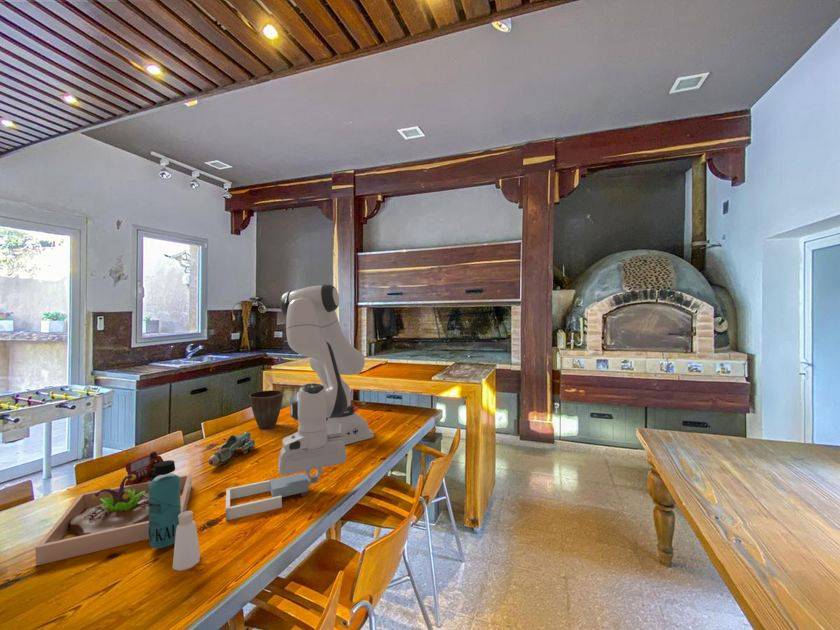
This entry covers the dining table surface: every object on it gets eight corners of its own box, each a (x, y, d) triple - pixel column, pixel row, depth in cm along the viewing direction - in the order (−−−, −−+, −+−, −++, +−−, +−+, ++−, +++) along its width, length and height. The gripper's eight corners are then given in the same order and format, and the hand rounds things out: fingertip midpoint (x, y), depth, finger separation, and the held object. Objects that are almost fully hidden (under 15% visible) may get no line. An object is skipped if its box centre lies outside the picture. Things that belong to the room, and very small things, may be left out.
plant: (181, 511, 104) (180, 471, 104) (92, 550, 87) (91, 503, 87) (147, 494, 114) (146, 457, 114) (61, 526, 97) (60, 483, 97)
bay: (276, 488, 116) (276, 478, 116) (281, 507, 105) (281, 496, 105) (226, 498, 110) (226, 488, 110) (225, 520, 98) (225, 509, 98)
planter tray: (191, 486, 118) (191, 474, 118) (181, 531, 94) (180, 515, 94) (80, 508, 106) (80, 494, 106) (35, 565, 81) (35, 547, 81)
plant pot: (276, 431, 171) (275, 397, 171) (244, 432, 171) (243, 397, 171) (288, 422, 186) (287, 390, 186) (258, 422, 186) (257, 390, 186)
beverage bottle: (159, 539, 91) (157, 457, 90) (188, 537, 91) (186, 456, 91) (141, 556, 84) (140, 469, 84) (172, 554, 85) (170, 467, 84)
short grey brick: (306, 485, 117) (306, 472, 117) (311, 495, 111) (311, 481, 111) (270, 494, 112) (269, 479, 112) (272, 504, 106) (272, 489, 106)
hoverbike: (260, 446, 153) (260, 426, 153) (222, 472, 128) (222, 448, 128) (238, 445, 154) (238, 425, 154) (196, 471, 129) (196, 448, 129)
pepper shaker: (192, 570, 79) (191, 519, 79) (166, 572, 79) (165, 520, 79) (205, 554, 85) (204, 506, 85) (180, 555, 84) (179, 507, 84)
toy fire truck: (173, 479, 123) (173, 448, 123) (137, 498, 111) (136, 463, 111) (156, 477, 125) (156, 446, 125) (119, 495, 113) (118, 461, 113)
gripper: (343, 429, 122) (343, 471, 122) (277, 440, 113) (277, 485, 113) (348, 435, 117) (349, 478, 117) (279, 446, 107) (280, 494, 107)
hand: (313, 482), depth 115 cm, fingers closed
